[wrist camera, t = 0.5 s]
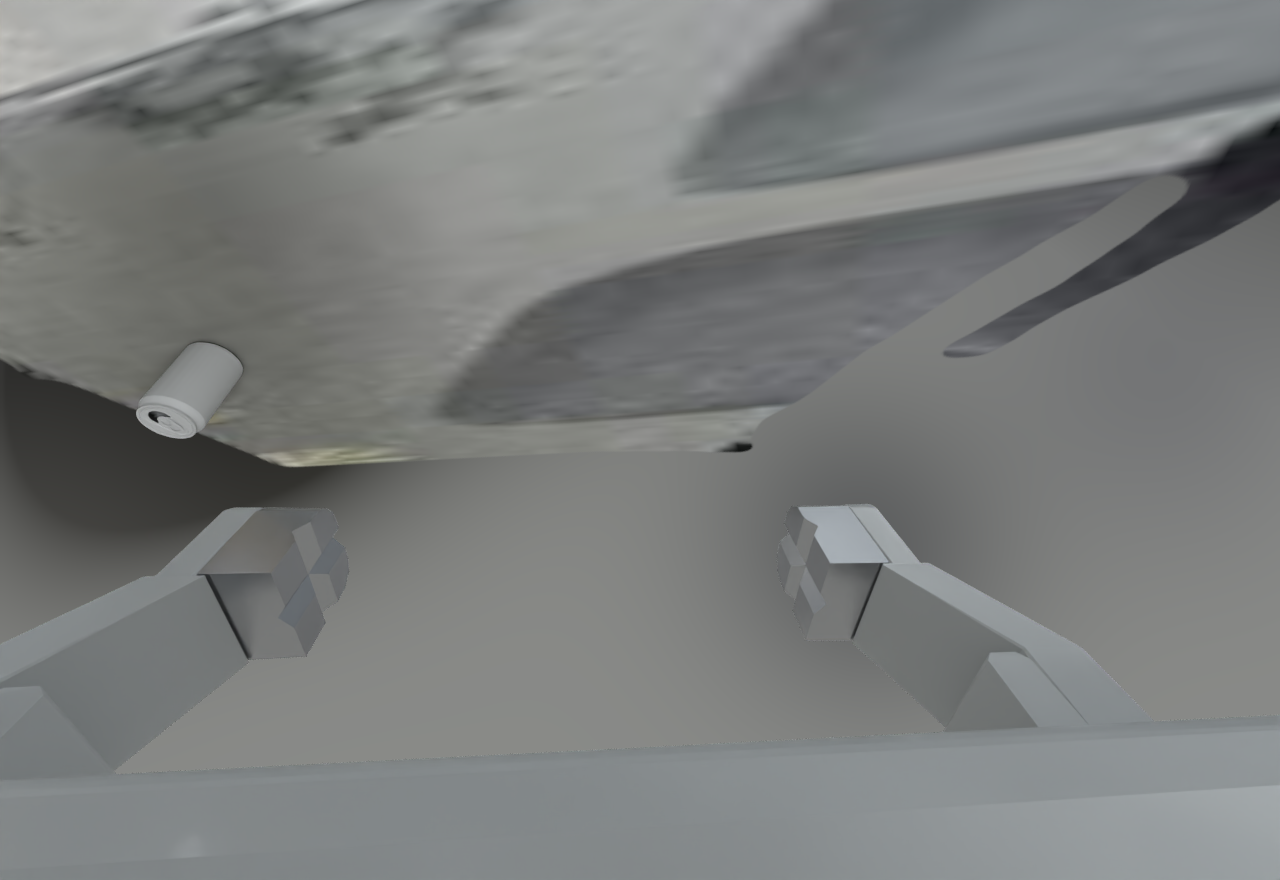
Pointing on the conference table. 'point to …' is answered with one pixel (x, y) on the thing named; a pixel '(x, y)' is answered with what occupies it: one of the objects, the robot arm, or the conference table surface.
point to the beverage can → (190, 391)
